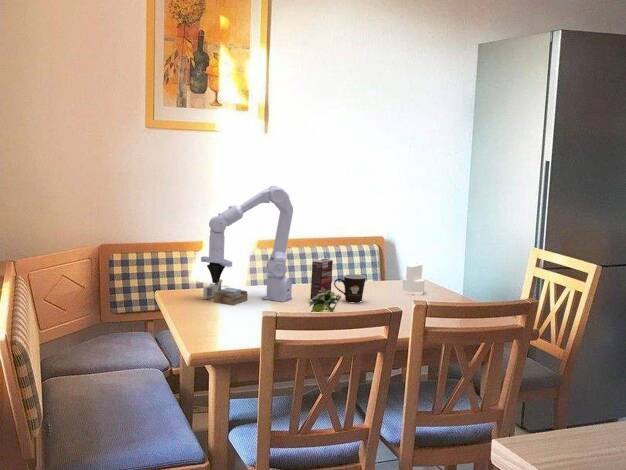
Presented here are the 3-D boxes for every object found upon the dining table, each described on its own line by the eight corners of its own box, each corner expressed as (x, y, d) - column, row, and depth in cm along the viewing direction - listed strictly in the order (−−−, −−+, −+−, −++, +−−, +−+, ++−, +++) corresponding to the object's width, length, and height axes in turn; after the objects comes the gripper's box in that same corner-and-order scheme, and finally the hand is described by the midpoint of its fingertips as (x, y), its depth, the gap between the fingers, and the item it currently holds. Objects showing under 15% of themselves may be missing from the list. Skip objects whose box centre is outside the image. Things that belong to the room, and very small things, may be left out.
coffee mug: (367, 300, 274) (368, 276, 272) (359, 305, 266) (361, 279, 264) (340, 296, 278) (341, 272, 277) (332, 300, 271) (333, 276, 269)
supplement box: (320, 303, 266) (322, 263, 264) (309, 301, 269) (311, 261, 266) (331, 299, 273) (333, 260, 271) (321, 297, 276) (323, 258, 274)
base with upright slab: (408, 289, 297) (410, 262, 296) (427, 293, 292) (429, 265, 290) (398, 292, 290) (400, 265, 288) (417, 296, 285) (419, 268, 283)
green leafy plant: (320, 326, 253) (332, 298, 257) (339, 328, 244) (351, 298, 248) (298, 312, 247) (312, 283, 251) (317, 313, 239) (330, 283, 243)
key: (218, 293, 274) (218, 279, 273) (223, 294, 273) (223, 279, 272) (202, 298, 264) (202, 284, 263) (207, 299, 263) (207, 284, 262)
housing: (247, 300, 266) (247, 290, 265) (233, 305, 257) (233, 295, 256) (227, 296, 269) (227, 287, 269) (213, 302, 260) (213, 292, 260)
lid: (240, 294, 264) (241, 289, 263) (233, 297, 259) (234, 291, 259) (227, 292, 266) (227, 287, 266) (220, 294, 262) (220, 289, 261)
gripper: (195, 246, 263) (194, 281, 265) (223, 251, 254) (222, 287, 256) (208, 244, 268) (207, 278, 270) (236, 249, 260) (235, 284, 262)
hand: (215, 282), depth 264 cm, fingers closed
